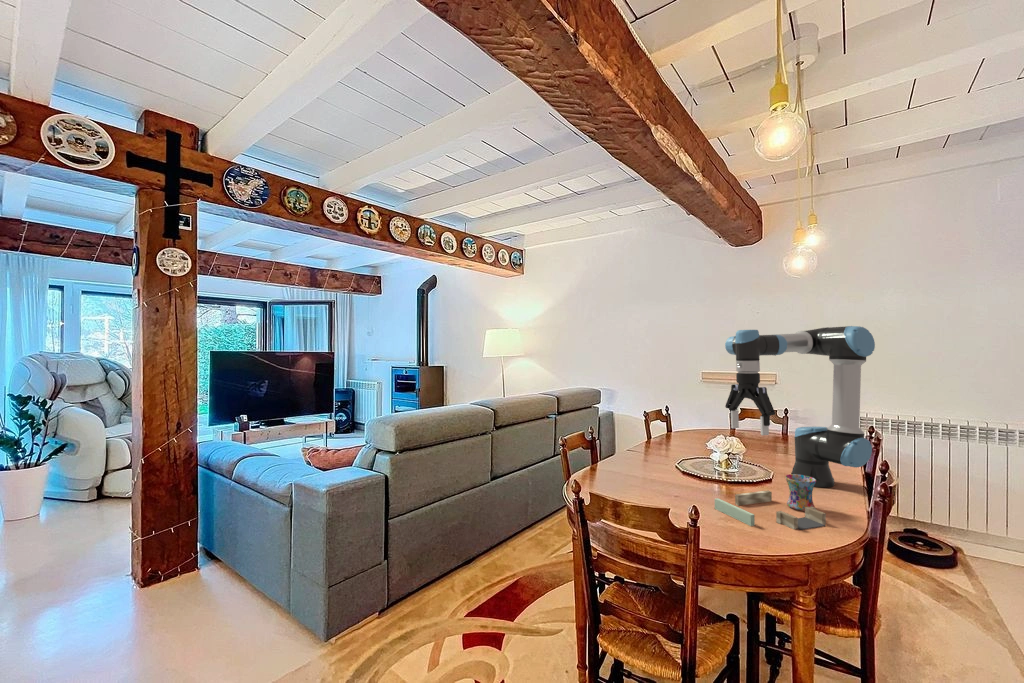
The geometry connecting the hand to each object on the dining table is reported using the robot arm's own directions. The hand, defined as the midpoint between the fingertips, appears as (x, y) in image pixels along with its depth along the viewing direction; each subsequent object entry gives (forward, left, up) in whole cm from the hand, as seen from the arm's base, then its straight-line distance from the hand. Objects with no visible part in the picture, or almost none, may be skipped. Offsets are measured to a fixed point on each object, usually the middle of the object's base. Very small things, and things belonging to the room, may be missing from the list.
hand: (749, 431), depth 159 cm
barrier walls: (-3, +9, -27) cm, 28 cm away
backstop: (+14, +7, -27) cm, 31 cm away
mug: (-16, +7, -27) cm, 32 cm away
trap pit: (-3, +18, -27) cm, 32 cm away
